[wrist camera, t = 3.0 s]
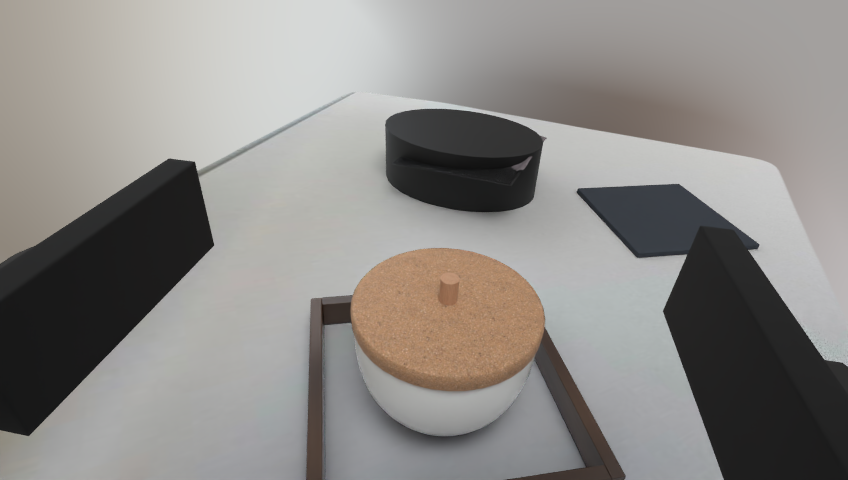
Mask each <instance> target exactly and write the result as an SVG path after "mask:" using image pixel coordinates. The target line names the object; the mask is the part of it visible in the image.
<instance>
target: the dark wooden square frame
mask: <svg viewBox="0 0 848 480" xmlns="http://www.w3.org/2000/svg"><path fill="white" fill-rule="evenodd" d="M352 297H353V295H349V296H336V297H324V298H314V299H311V314H310V354H309V393H308V432H307V471H306V480H325V409H324V324H336V323H347V322H351V300H352ZM535 360H536V363H537V365H538V367H539V369H540V371H541V373H542V375H543V377H544V379H545V381H546V383H547V385H548V387H549V389H550V392H551V394H552V396H553V398H554V400H555V402H556V404H557V406H558V408H559V410H560V412H561V414H562V416H563V418H564V421H565V423H566V425H567V427H568V429H569V431H570V433H571V435H572V437H573V439H574V441H575V443H576V445H577V447H578V450H579V452H580V454H581V456H582V458H583V460H584V462H585V464H586V466H587V467H586V468H579V469H573V470H566V471H560V472H553V473H547V474H540V475H533V476H527V477H520V478H514V479H507V480H624V479H625V474H624V472H623V471H622V469H621V467H620V465H619V463H618V461H617V459H616V458H615V456H614V454H613V452H612V450H611V448H610V447H609V445H608V443H607V441H606V439H605V437H604V436H603V434H602V432H601V430H600V428H599V426H598V424H597V423H596V421H595V419H594V417H593V415H592V413H591V412H590V410H589V408H588V406H587V404H586V402H585V401H584V399H583V397H582V395H581V393H580V391H579V390H578V388H577V386H576V384H575V382H574V380H573V378H572V377H571V375H570V373H569V371H568V369H567V367H566V366H565V364H564V362H563V360H562V358H561V356H560V355H559V353H558V351H557V349H556V347H555V345H554V344H553V342H552V340H551V338H550V336H549V334H548V332H547V331H546V329H545V327H544V332H543V336H542V339H541V342H540V346H539V348H538V351H537V352H536V354H535Z"/></svg>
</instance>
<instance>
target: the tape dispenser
mask: <svg viewBox="0 0 848 480" xmlns="http://www.w3.org/2000/svg"><path fill="white" fill-rule="evenodd" d="M385 127H386V175H387V178H388V181H389V182H390V183H391V184H392V185H393V186H394V187H395V188H397V189H398V190H399V191H401V192H403V193H405V194H406V195H408V196H410V197H413V198H415V199H418V200H420V201H423V202H426V203H429V204H433V205H436V206H441V207H445V208H450V209H456V210H464V211H476V212H497V211H506V210H512V209H516V208H519V207H522V206H524V205H526V204H528V203H529V202H530V201H531V200H532V199H533V198H534V192H535V186H536V180H537V174H538V169H539V163H540V157H541V151H542V146H543V142H544V140H545V139H546V138H545V137H543V136H539V135H538V134H537V133H536V132H535V131H533V130H531V129H530V128H528V127H526V126H523V125H521V124H519V123H516V122H513V121H510V120H507V119H504V118H500V117H496V116H492V115H487V114H482V113H476V112H470V111H462V110H451V109H420V110H411V111H404V112H401V113H397V114H395V115H393V116H391V117H389V118H388V119H387V120H386V124H385Z"/></svg>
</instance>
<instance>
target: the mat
mask: <svg viewBox="0 0 848 480" xmlns="http://www.w3.org/2000/svg"><path fill="white" fill-rule="evenodd" d="M577 193H578V194H579V195H580V196H581V197H582V198H583V199H584V200H585V201H586V202H587V203H588V205H589V206H590V207H591V208H592V209H593V210H594V211H595V212H596V213H597V214H598V215H599V216H600V217H601V219H602V220H603V221H604V222H605V223H606V224H607V225H608V226H609V227H610V228H611V229H612V230H613V232H614V233H615V234H616V235H617V236H618V237H619V238H620V239H621V240H622V241H623V242H624V243H625V244H626V246H627V247H628V248H629V249H630V250H631V251H632V252H633V253H634V254H635V255H636V256H637V257H651V256H665V255H678V254H688V252H689V250H690V248H691V246H692V243H693V241H694V239H695V236H696V234H697V232H698V229H699V227H700V226H708V227H716V228H724V229H732V230H734V231H735V232H736V234H737V235H738V236H739V238H740V239H741V241H742V242H743V244H744V245H745V247H746V248H747V249H758V247H759V244H758V243H757V242H755V241H754V240H753V239H751V238H750V237H749V236H747V235H746V234H745V233H743V232H742V231H741V230H739V229H738V228H737V227H735V226H734V225H733V224H731V223H730V222H729V221H727V220H726V219H725V218H723V217H722V216H721V215H719V214H718V213H717V212H715V211H714V210H713V209H711V208H710V207H709V206H707V205H706V204H705V203H703V202H702V201H701V200H699V199H698V198H697V197H695V196H694V195H693V194H691V193H690V192H689V191H687V190H686V189H685V188H683V187H682V186H681V185H679V184H668V185H646V186H624V187H602V188H580V189H578V190H577Z"/></svg>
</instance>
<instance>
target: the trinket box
mask: <svg viewBox="0 0 848 480" xmlns="http://www.w3.org/2000/svg"><path fill="white" fill-rule="evenodd" d="M351 322H352V329H353V333H354V340H355V348H356V356H357V360H358V364H359V368H360V371H361V374H362V376H363V379H364V381H365V384H366V386H367V388H368V390H369V392H370V393H371V395H372V397H373V398H374V399H375V401H376V402H377V403H378V405H379V406H380V407H381V408H382V409H383V410H384V411H385V412H386V413H387V414H388V415H389V416H391V417H392V418H393V419H394V420H396V421H397V422H399V423H401V424H402V425H404V426H406V427H408V428H410V429H412V430H415V431H417V432H420V433H424V434H428V435H435V436H456V435H462V434H466V433H469V432H472V431H475V430H478V429H481V428H483V427H485V426H486V425H488V424H490V423H492V422H493V421H494V420H496V419H497V418H498V417H500V416H501V415H502V414H503V413H504V412H505V411H506V410H507V409H508V408H509V407H510V406H511V405H512V403H513V402H514V401H515V399H516V398H517V396H518V395H519V393H520V391H521V390H522V388H523V386H524V384H525V382H526V380H527V378H528V376H529V373H530V370H531V367H532V364H533V361H534V358H535V354H536V352H537V351H538V348H539V346H540V342H541V339H542V336H543V332H544V325H545V316H544V310H543V306H542V304H541V301H540V299H539V297H538V296H537V294H536V292H535V291H534V289H533V288H532V286H531V285H530V284H529V283H528V282H527V281H526V280H525V279H524V278H523V277H522V276H521V275H519V274H518V273H517V272H516V271H514V270H513V269H511V268H510V267H508V266H506V265H505V264H503V263H501V262H499V261H497V260H495V259H492V258H490V257H487V256H484V255H481V254H477V253H474V252H470V251H464V250H459V249H449V248H431V249H420V250H415V251H410V252H406V253H402V254H399V255H396V256H394V257H391V258H389V259H387V260H385V261H383V262H381V263H380V264H378V265H376V266H375V267H374V268H373V269H371V270H370V271H369V272H368V273H367V274H366V275H365V276H364V277H363V278H362V279H361V281H360V282H359V284H358V285H357V287H356V289H355V291H354V294H353V297H352V300H351Z"/></svg>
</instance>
